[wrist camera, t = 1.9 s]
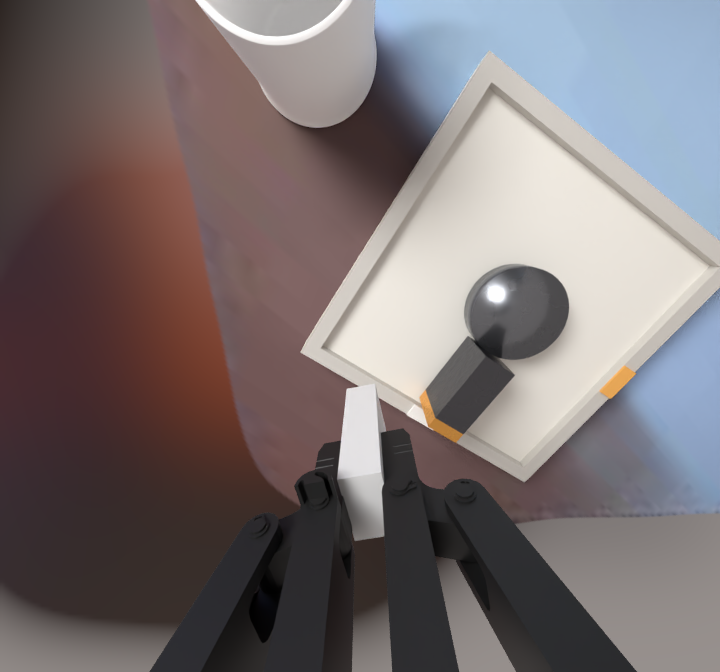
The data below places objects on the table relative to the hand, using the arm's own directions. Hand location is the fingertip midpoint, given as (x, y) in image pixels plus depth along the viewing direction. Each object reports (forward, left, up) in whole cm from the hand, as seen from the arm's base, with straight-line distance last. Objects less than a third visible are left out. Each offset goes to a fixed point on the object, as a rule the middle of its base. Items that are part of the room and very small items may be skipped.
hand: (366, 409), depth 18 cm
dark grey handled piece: (-5, +8, -11) cm, 14 cm away
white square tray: (-8, +8, -13) cm, 17 cm away
